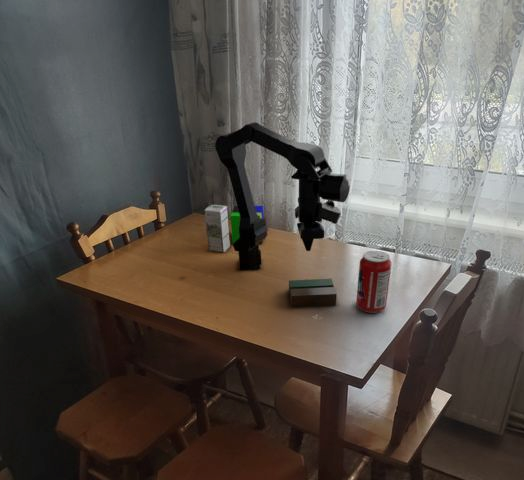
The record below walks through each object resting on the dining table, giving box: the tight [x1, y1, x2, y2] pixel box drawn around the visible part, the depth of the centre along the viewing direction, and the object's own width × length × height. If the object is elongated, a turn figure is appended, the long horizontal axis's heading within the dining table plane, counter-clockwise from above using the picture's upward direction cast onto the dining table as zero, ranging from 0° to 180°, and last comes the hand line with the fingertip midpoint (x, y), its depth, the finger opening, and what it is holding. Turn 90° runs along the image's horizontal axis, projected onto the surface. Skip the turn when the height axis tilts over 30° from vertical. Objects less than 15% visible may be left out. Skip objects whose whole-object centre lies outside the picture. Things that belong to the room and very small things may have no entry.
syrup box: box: [204, 204, 231, 253], centre depth 162 cm, size 6×6×14 cm
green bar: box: [288, 278, 335, 295], centre depth 137 cm, size 12×4×4 cm, turn 92°
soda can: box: [355, 250, 392, 314], centre depth 127 cm, size 8×8×15 cm
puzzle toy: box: [230, 205, 265, 245], centre depth 170 cm, size 10×10×10 cm
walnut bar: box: [289, 286, 337, 308], centre depth 133 cm, size 12×4×4 cm, turn 92°
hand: (308, 250), depth 140 cm, fingers closed
